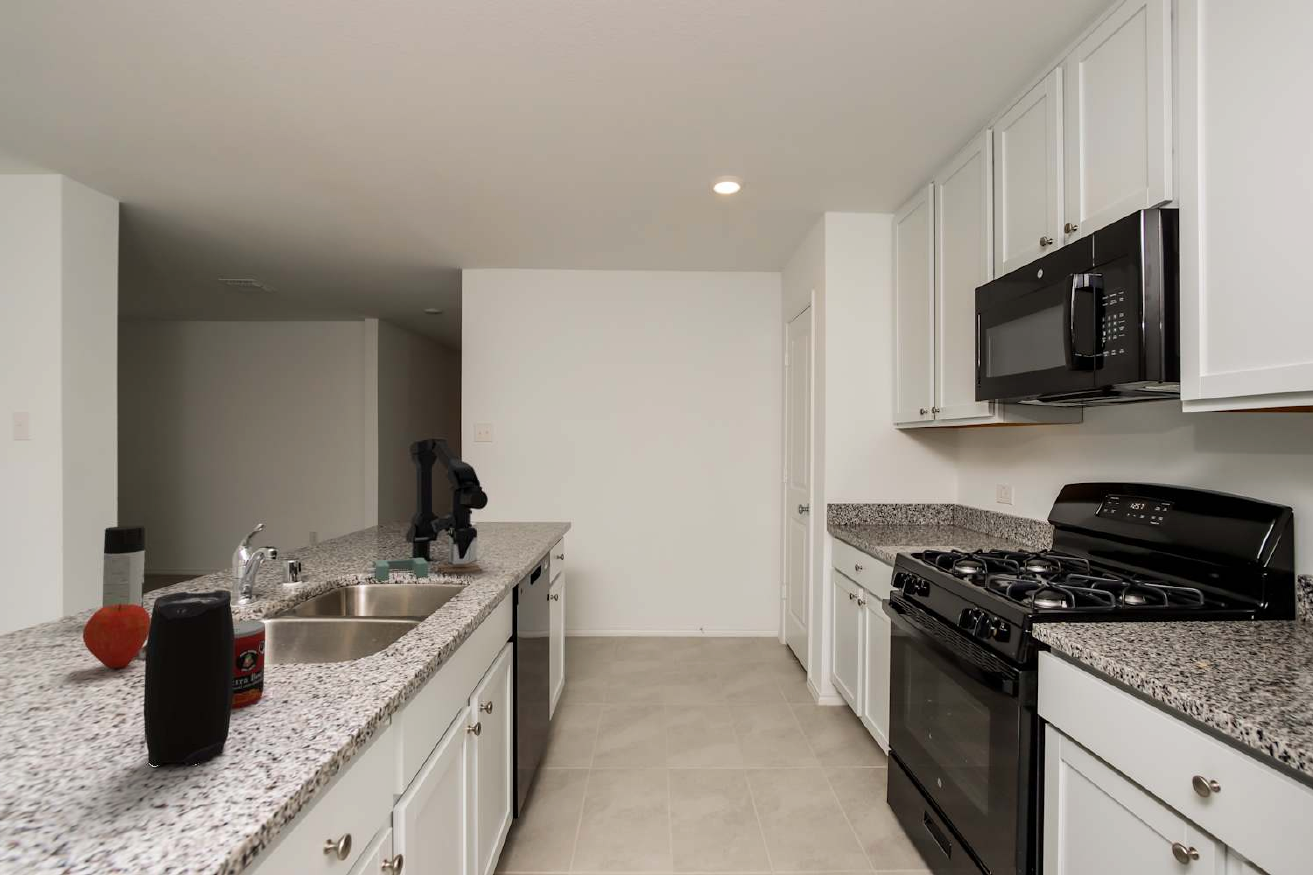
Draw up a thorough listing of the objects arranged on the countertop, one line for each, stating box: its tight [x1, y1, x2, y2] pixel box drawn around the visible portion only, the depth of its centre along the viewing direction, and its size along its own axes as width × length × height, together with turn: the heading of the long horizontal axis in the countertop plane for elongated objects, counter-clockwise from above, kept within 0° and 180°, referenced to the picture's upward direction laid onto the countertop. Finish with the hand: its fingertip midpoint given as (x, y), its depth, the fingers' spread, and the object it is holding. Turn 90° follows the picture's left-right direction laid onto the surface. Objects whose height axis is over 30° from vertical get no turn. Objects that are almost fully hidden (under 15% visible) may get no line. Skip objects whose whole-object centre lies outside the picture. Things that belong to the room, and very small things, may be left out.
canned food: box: [231, 619, 266, 711], centre depth 94 cm, size 8×8×11 cm
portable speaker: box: [143, 589, 235, 766], centre depth 78 cm, size 9×9×20 cm
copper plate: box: [437, 562, 483, 576], centre depth 193 cm, size 11×11×1 cm
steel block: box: [450, 542, 469, 564], centre depth 193 cm, size 4×4×6 cm
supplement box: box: [448, 522, 478, 563], centre depth 208 cm, size 7×7×13 cm
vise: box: [365, 558, 429, 582], centre depth 186 cm, size 15×16×4 cm
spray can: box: [102, 525, 146, 608], centre depth 133 cm, size 7×7×20 cm
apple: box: [82, 604, 151, 669], centre depth 106 cm, size 9×8×11 cm
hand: (459, 557), depth 193 cm, fingers closed on steel block, 4 cm apart
